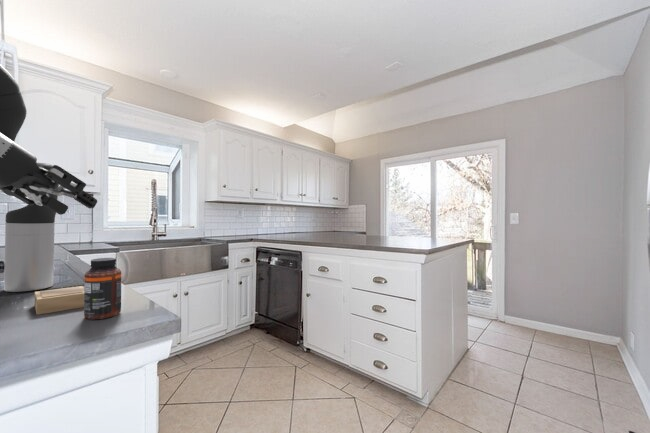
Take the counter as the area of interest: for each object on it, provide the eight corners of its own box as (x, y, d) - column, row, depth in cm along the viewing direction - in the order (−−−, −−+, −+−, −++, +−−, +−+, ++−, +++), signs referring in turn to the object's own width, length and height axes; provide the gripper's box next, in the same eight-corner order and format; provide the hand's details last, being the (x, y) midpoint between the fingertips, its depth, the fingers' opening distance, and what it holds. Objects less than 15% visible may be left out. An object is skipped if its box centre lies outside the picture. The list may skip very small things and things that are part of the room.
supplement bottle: (117, 308, 63) (119, 256, 63) (123, 316, 59) (125, 259, 59) (81, 315, 59) (83, 258, 59) (85, 323, 55) (86, 262, 55)
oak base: (34, 305, 64) (34, 291, 64) (81, 298, 70) (82, 285, 70) (36, 314, 58) (37, 298, 58) (88, 306, 64) (88, 291, 64)
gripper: (31, 130, 51) (112, 189, 63) (-23, 147, 54) (64, 199, 67) (3, 161, 46) (96, 217, 59) (-53, 177, 50) (46, 227, 63)
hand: (79, 208), depth 63 cm, fingers open, 8 cm apart
